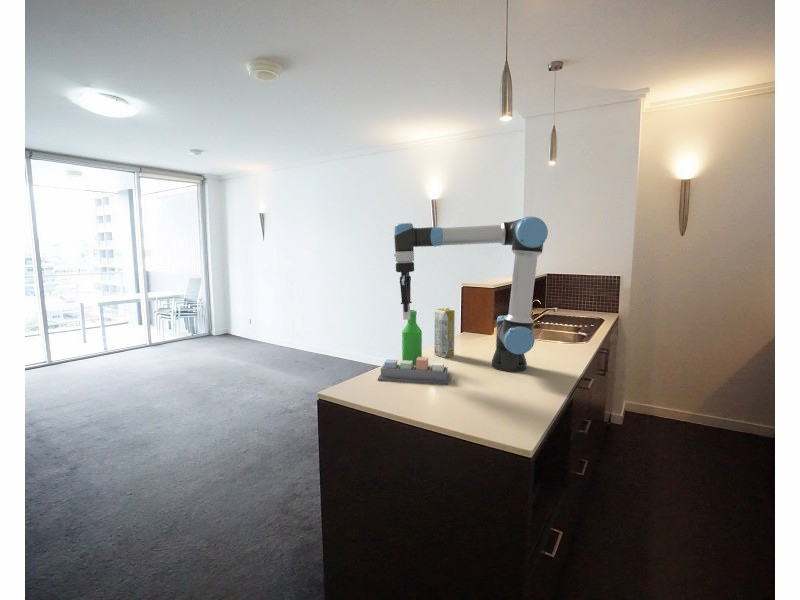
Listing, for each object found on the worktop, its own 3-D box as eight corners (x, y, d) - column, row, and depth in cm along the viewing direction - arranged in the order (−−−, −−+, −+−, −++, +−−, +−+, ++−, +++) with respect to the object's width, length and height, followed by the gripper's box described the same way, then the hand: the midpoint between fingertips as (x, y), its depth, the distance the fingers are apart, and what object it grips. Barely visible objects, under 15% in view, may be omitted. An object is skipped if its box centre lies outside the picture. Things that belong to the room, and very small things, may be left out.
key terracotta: (428, 369, 166) (428, 357, 166) (426, 372, 162) (426, 360, 161) (417, 368, 167) (417, 356, 167) (416, 371, 163) (416, 359, 162)
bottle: (420, 368, 179) (420, 312, 175) (400, 367, 181) (400, 312, 177) (422, 362, 187) (423, 309, 184) (404, 361, 189) (404, 308, 186)
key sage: (412, 372, 168) (412, 360, 167) (410, 375, 164) (410, 363, 163) (402, 371, 169) (402, 360, 168) (400, 375, 164) (400, 363, 164)
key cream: (444, 374, 165) (444, 362, 165) (443, 377, 161) (443, 365, 160) (433, 373, 166) (433, 361, 166) (432, 377, 162) (432, 364, 161)
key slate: (397, 371, 169) (397, 359, 168) (395, 374, 165) (395, 362, 164) (387, 370, 170) (386, 359, 169) (384, 374, 166) (384, 362, 165)
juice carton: (456, 356, 197) (457, 307, 194) (444, 359, 193) (444, 309, 190) (444, 352, 205) (444, 305, 202) (431, 354, 201) (432, 306, 197)
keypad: (449, 375, 168) (449, 365, 168) (447, 384, 158) (447, 373, 157) (384, 372, 174) (384, 362, 173) (377, 380, 163) (377, 370, 163)
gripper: (398, 261, 171) (400, 316, 174) (392, 263, 159) (394, 322, 162) (416, 261, 170) (418, 316, 173) (411, 262, 157) (413, 322, 160)
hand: (406, 319), depth 167 cm, fingers closed
